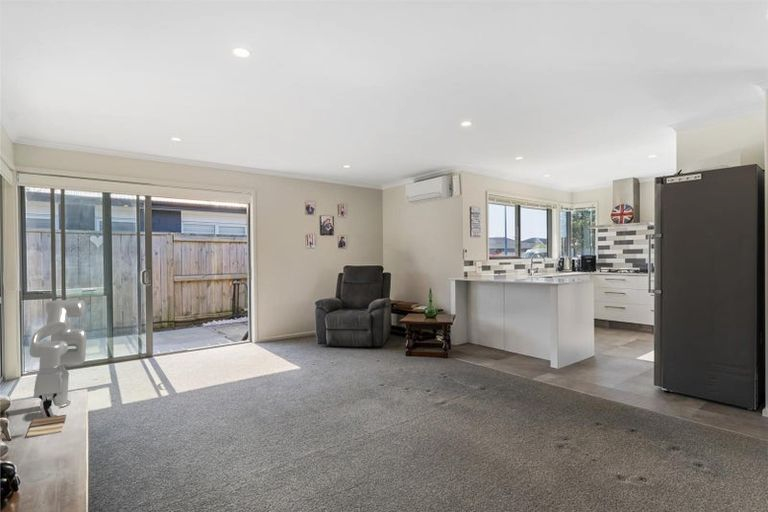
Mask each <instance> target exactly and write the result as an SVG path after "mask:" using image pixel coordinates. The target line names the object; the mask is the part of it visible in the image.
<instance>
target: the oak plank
mask: <svg viewBox="0 0 768 512" xmlns="http://www.w3.org/2000/svg"><path fill="white" fill-rule="evenodd" d="M63 428H64V424H63V423H58V424H52V425H45V426H39V427H33V428H30V427H29V429H28V432H27V434H26V436H25V439H29V438H34V437H40V436H41V437H42V436H45V435H52V434H58V433H62V431H63Z"/></svg>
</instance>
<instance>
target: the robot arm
mask: <svg viewBox="0 0 768 512" xmlns="http://www.w3.org/2000/svg"><path fill="white" fill-rule="evenodd" d="M45 310H46V311H45V312H46V314H47V318H46V324H45V325H43V326H42V327H41V328H39V329H38V330H37V331H36V332H35V333H34V334H33V335H32V338H31V341H30V346H29V349H28V350H29V352H28V353H29V355H30V357H32V358H39V365H38V366H39V368H38V369H39V370H38V373H37V374H36V376H35V382H34V388H33V389H34V390H33V397H32V398H34V399H40V401H41V400H43V401H44V402H43V407H45V409H49V408H50V406H52V400H53V402H54V405H55V406H58V407H59V409H61V408H65V407H68V406H69V405H70V404H71V403H72V402H71V400H70V399H68V398H69V397H68V394H69V380H70V379H69V376H70V374H69V370H68V369H66V368H65V367H67V366H69V367H70V366H77V365H78V366H79V365H82V364H83V363H85V360H86V353H87V352H86V350H87V333H86V330H84V329H81V328H78V329H77V328H76V329H71V325H72V321H71V319H70V318H80V317H81V316H83V314H84V313H85V310H86V302H85V301H84V300H82V299H58V300H57V299H56V300H50V301H48V302H46V303H45ZM47 337H50V341H42V340H43V339H45V338H47ZM69 347H75V348H69ZM48 397H50V398H49V399H47V398H48Z"/></svg>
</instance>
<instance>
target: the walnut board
mask: <svg viewBox="0 0 768 512" xmlns="http://www.w3.org/2000/svg"><path fill="white" fill-rule="evenodd" d="M66 418H67V414H61V415H58V416H53V417H47V418H44V417H41V418H40V417H39V418H34V419H32V421H31V424H30V426H29V429H30V428H33V427H39V426H45V425H52V424H58V423H63V425H65V422H66Z"/></svg>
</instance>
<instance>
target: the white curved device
mask: <svg viewBox="0 0 768 512" xmlns="http://www.w3.org/2000/svg"><path fill="white" fill-rule="evenodd" d="M49 398H50V397H48V398H47V399H49ZM43 402H44V401H43V400H41V399H40V401H39V407H40V411H41V413H42V416H43V418H47V417H53V416H59V415H58V414H59V410H60V408H59V407H58V406H55V405H54V402H53V400H52V406H50V408H49V409H45V407H43Z"/></svg>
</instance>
